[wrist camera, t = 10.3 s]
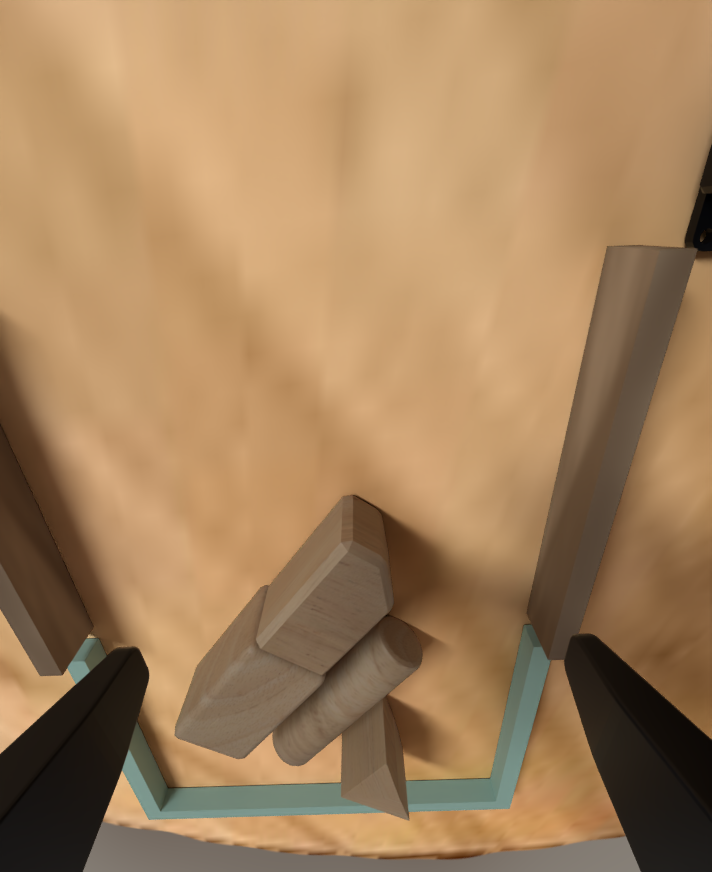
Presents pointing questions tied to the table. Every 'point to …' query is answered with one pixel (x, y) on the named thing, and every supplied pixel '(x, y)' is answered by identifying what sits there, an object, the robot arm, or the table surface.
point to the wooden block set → (315, 663)
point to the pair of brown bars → (571, 501)
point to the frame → (328, 796)
